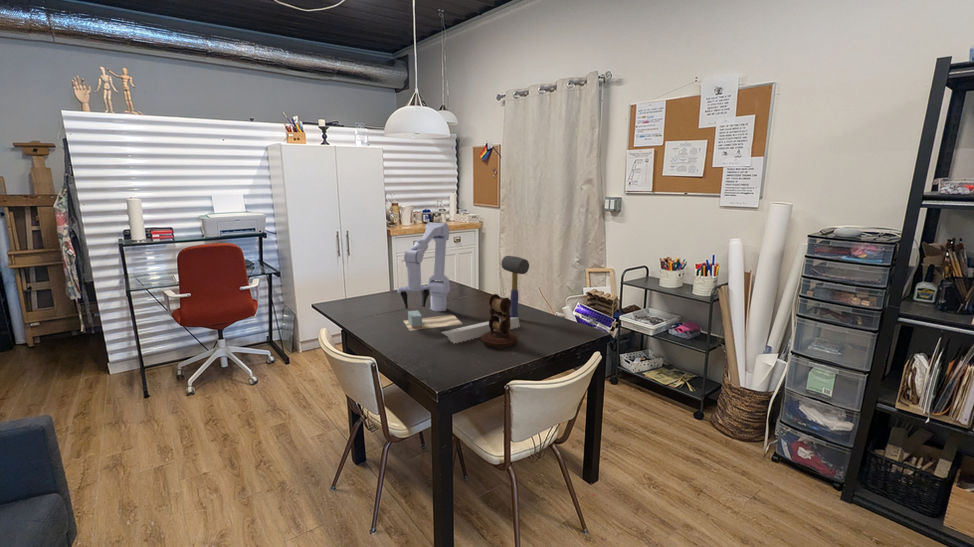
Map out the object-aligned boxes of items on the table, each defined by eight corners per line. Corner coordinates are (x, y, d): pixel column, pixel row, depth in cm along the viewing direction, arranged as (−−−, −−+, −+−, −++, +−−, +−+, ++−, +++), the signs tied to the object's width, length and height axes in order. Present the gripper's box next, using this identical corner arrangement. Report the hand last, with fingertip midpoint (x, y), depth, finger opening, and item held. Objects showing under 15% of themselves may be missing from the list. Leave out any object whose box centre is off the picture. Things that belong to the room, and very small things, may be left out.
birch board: (403, 323, 207) (403, 320, 207) (453, 317, 215) (453, 314, 215) (409, 333, 194) (409, 330, 194) (462, 327, 203) (462, 324, 202)
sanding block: (408, 322, 205) (407, 311, 203) (418, 320, 206) (417, 310, 205) (412, 327, 197) (411, 316, 196) (422, 326, 199) (421, 315, 198)
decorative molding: (442, 343, 192) (454, 344, 184) (441, 332, 192) (453, 332, 184) (506, 327, 211) (520, 328, 203) (505, 317, 211) (518, 317, 203)
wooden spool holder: (525, 344, 184) (526, 296, 179) (497, 353, 175) (497, 303, 170) (501, 334, 195) (501, 289, 190) (473, 342, 186) (473, 294, 181)
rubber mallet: (499, 317, 216) (500, 255, 209) (510, 314, 221) (511, 253, 214) (517, 324, 207) (519, 259, 200) (529, 320, 212) (530, 257, 205)
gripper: (399, 280, 191) (400, 311, 194) (432, 277, 196) (433, 308, 199) (396, 277, 197) (397, 307, 200) (428, 274, 202) (429, 303, 205)
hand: (415, 307), depth 200 cm, fingers open, 7 cm apart
